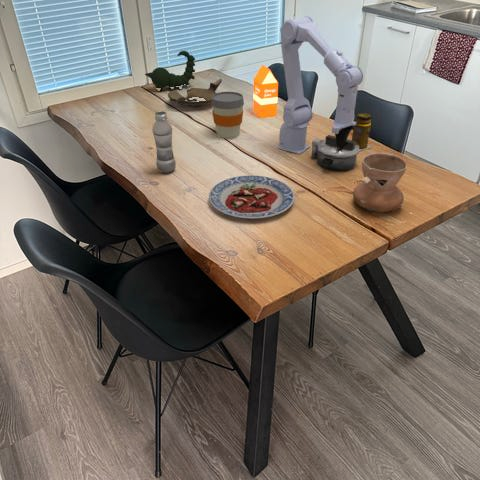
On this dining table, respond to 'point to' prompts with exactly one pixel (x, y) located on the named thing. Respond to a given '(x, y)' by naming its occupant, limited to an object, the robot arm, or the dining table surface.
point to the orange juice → (265, 93)
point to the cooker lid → (331, 149)
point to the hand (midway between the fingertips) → (340, 147)
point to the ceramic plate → (251, 197)
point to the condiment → (362, 130)
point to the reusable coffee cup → (227, 113)
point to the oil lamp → (195, 95)
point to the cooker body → (333, 161)
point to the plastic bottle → (163, 143)
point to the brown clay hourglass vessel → (380, 182)
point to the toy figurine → (165, 78)
